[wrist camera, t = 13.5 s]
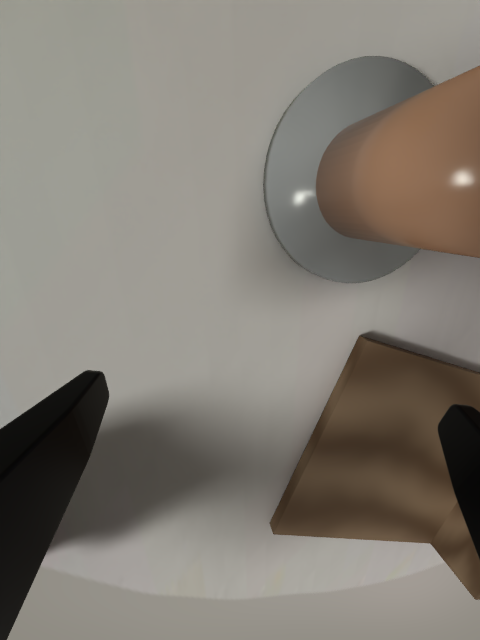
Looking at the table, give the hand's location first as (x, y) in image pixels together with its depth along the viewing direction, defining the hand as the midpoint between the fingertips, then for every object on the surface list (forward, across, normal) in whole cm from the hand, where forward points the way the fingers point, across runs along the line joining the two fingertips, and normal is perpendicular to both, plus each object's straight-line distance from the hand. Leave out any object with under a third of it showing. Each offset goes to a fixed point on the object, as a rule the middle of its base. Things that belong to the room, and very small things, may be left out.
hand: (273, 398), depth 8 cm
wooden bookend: (+11, -13, +18) cm, 25 cm away
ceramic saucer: (+15, -5, -2) cm, 16 cm away
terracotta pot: (+14, -5, -3) cm, 16 cm away
